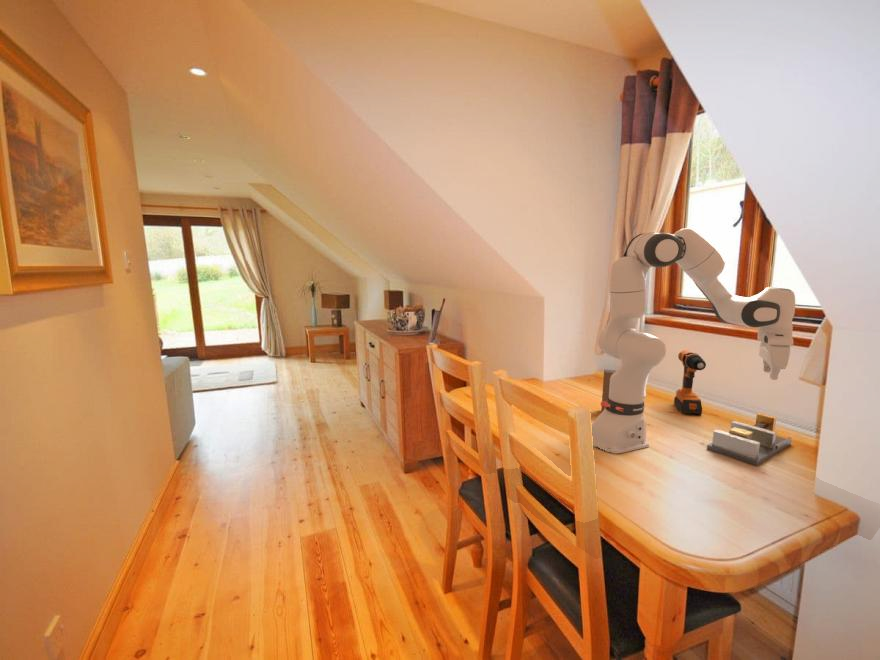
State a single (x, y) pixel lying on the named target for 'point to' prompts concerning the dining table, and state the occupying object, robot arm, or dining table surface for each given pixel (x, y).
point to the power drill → (689, 383)
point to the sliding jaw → (761, 429)
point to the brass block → (741, 433)
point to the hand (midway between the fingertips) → (770, 375)
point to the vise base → (761, 454)
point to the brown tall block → (606, 385)
